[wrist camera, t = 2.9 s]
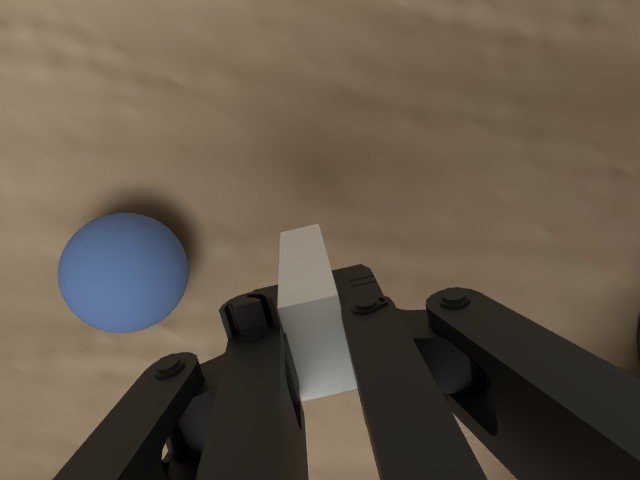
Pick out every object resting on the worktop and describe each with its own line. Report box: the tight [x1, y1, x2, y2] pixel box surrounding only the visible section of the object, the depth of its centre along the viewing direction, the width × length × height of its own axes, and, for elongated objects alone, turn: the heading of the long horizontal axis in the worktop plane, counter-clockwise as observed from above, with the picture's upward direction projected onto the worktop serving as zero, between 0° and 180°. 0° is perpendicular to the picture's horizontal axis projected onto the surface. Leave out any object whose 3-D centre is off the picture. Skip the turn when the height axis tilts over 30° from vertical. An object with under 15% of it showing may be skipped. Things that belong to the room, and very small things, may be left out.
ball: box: [58, 213, 188, 333], centre depth 23 cm, size 6×6×6 cm
